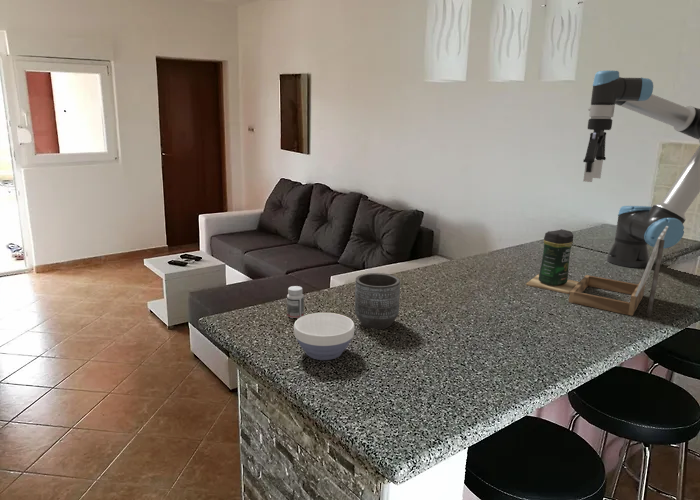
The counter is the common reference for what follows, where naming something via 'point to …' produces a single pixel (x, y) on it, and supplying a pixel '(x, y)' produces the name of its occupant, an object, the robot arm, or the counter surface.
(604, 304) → the cold frame
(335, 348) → the bowl
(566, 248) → the coffee jar
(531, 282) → the mat
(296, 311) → the pill bottle
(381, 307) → the planter
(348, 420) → the counter surface
